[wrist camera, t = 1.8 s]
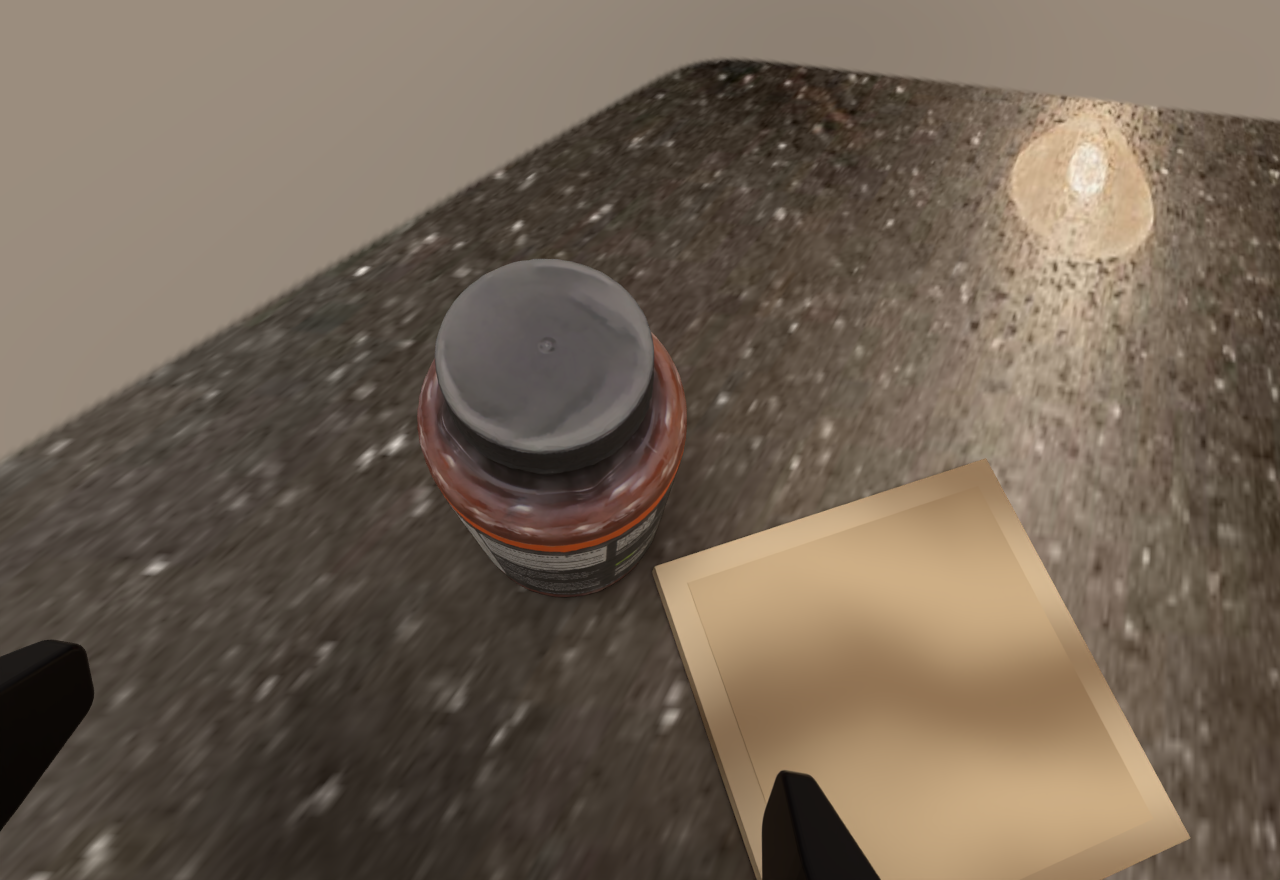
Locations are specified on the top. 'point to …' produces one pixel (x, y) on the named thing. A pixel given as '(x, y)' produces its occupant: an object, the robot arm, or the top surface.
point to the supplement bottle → (553, 424)
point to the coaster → (916, 689)
